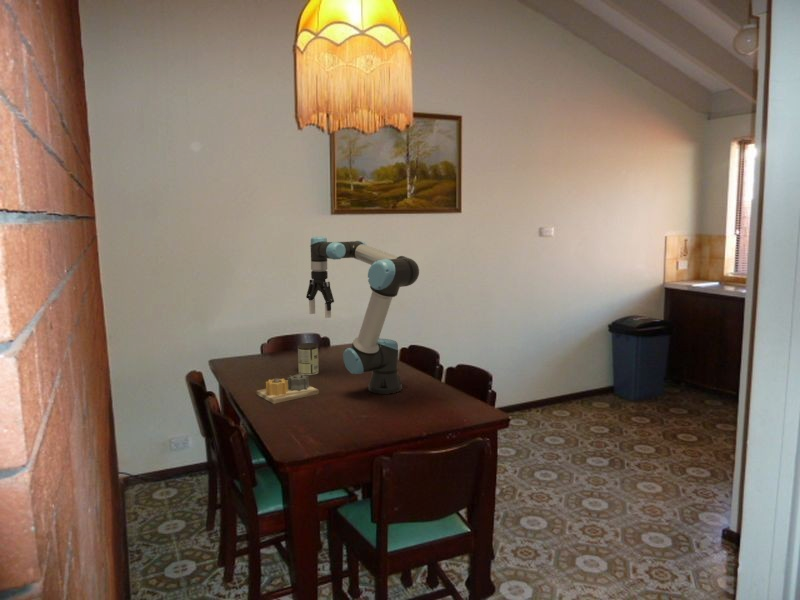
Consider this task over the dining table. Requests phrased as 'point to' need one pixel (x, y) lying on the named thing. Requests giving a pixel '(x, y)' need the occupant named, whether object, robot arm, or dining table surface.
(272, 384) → the gear
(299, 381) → the gear board
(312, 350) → the coffee can
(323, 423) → the dining table surface
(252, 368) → the dining table surface
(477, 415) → the dining table surface
